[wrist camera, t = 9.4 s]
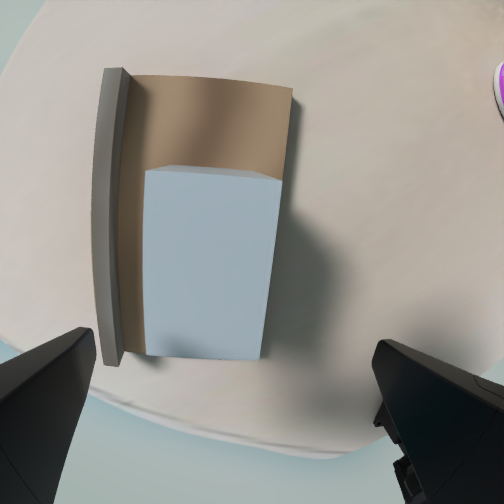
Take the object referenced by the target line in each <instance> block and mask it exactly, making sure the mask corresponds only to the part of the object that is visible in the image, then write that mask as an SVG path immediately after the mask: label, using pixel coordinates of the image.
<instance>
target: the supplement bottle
mask: <svg viewBox="0 0 504 504" xmlns="http://www.w3.org/2000/svg"><path fill="white" fill-rule="evenodd" d="M494 92H495V97H496V100H497V103H498V106H499V109H500V111H501V113H502V115H503V117H504V62H502V63H500V64H499V65H498V66H497V68H496V70H495V74H494Z"/></svg>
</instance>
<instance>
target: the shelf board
mask: <svg viewBox="0 0 504 504" xmlns="http://www.w3.org/2000/svg"><path fill="white" fill-rule="evenodd" d="M292 91H293V88H287V87H281V86H275V85H269V84H262V83H254V82H246V81H238V80H228V79H218V78H205V77H189V76H160V75H133V76H131V75H130V74H129V73H128V72H127V71H126V70H125V69H124V68H123V67H122V68H104V73H103V79H102V85H101V92H100V98H99V106H98V114H97V122H96V132H95V143H94V156H93V172H92V201H91V252H92V272H93V286H94V298H95V308H96V314H97V321H98V329H99V337H100V344H101V351H102V357H103V363H104V365H106V366H114V367H119V365H120V362H121V359H122V356H123V354H124V351H127V352H136V353H146V343H145V327H144V305H143V209H144V187H145V171H146V170H150V169H155V168H159V167H163V166H168V165H184V166H200V167H214V168H226V169H238V170H248V171H255V172H258V173H261V174H264V175H267V176H270V177H273V178H276V179H278V180H281V181H282V179H283V170H284V162H285V154H286V145H287V136H288V127H289V118H290V109H291V100H292Z"/></svg>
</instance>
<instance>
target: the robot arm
mask: <svg viewBox="0 0 504 504" xmlns="http://www.w3.org/2000/svg"><path fill="white" fill-rule="evenodd" d="M95 361H96V346H95V340H94V333H93V330H92V329H91V328H85V327H78V328H76V329H74V330H72V331H70V332H67V333H65V334H63V335H61V336H59V337H57V338H55V339H53V340H51V341H48V342H46V343H44V344H42V345H40V346H38V347H36V348H34V349H31V350H29V351H27V352H25V353H23V354H21V355H19V356H17V357H15V358H13V359H11V360H8V361H6V362H4V363H2V364H0V504H53V503H54V499H55V495H56V491H57V488H58V484H59V480H60V477H61V473H62V470H63V467H64V463H65V460H66V457H67V453H68V450H69V447H70V444H71V441H72V437H73V435H74V432H75V429H76V426H77V423H78V420H79V417H80V414H81V411H82V408H83V406H84V403H85V400H86V397H87V393H88V389H89V385H90V380H91V376H92V372H93V368H94V365H95ZM372 369H373V371H374V374H375V377H376V380H377V383H378V386H379V389H380V392H381V395H382V398H383V403H382V405H381V407H380V409H379V411H378V413H377V416H376V418H375V420H374V422H373V424H374V426H375V427H380V426H384V428H385V430H386V431H387V433H388V435H389V436H390V438H391V439H392V441H393V443H394V444H398V445H399V447H400V448H401V450H402V452H403V453H404V456H403V457H402V458H401V459H399V460H397V461H395V462H394V463H393V466H394V468H395V474H396V477H397V480H398V483H399V485H400V488H401V491H402V494H403V497H404V500H405V504H504V386H503V385H500V384H497V383H494V382H492V381H489V380H486V379H484V378H481V377H479V376H476V375H474V374H473V375H472V374H471V373H469V372H467V371H464V370H462V369H460V368H457V367H455V366H452V365H450V364H448V363H445V362H443V361H441V360H438V359H436V358H433V357H431V356H429V355H426V354H424V353H422V352H419V351H417V350H415V349H412V348H410V347H408V346H406V345H403V344H401V343H399V342H396V341H394V340H392V339H383V340H380V341H379V342H378V344H377V347H376V350H375V353H374V356H373V359H372Z"/></svg>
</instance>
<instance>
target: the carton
mask: <svg viewBox="0 0 504 504" xmlns="http://www.w3.org/2000/svg"><path fill="white" fill-rule="evenodd" d="M282 182H283V181H281V180H278V179H276V178H273V177H270V176H267V175H264V174H261V173H258V172H255V171H248V170H238V169H226V168H214V167H200V166H184V165H168V166H163V167H159V168H155V169H150V170H146V171H145V187H144V209H143V305H144V327H145V343H146V355H153V356H165V357H179V358H196V359H218V360H259V356H260V349H261V342H262V335H263V328H264V321H265V314H266V307H267V300H268V292H269V285H270V277H271V270H272V262H273V255H274V247H275V239H276V231H277V223H278V215H279V207H280V198H281V190H282Z"/></svg>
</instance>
